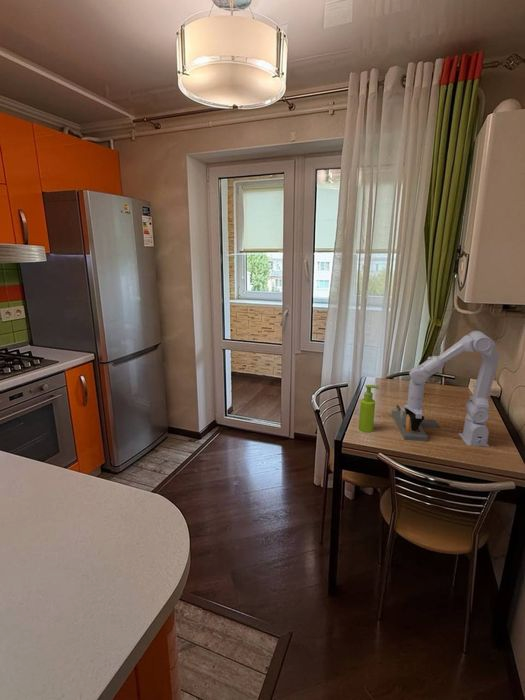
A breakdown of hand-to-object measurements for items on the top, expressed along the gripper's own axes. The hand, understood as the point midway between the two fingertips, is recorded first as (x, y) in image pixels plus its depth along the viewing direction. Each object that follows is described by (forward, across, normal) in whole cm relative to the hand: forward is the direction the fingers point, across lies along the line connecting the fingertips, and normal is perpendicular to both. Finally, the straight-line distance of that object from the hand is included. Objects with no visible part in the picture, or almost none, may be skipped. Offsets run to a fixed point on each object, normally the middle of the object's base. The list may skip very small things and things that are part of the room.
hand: (411, 426), depth 154 cm
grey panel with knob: (+3, -9, 0) cm, 9 cm away
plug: (+2, 0, 0) cm, 2 cm away
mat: (+3, -9, +10) cm, 13 cm away
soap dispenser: (+3, -1, -18) cm, 18 cm away
